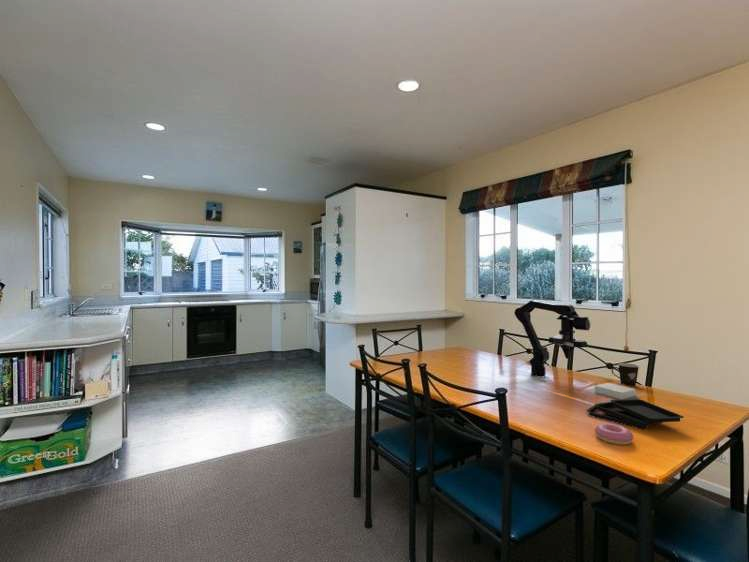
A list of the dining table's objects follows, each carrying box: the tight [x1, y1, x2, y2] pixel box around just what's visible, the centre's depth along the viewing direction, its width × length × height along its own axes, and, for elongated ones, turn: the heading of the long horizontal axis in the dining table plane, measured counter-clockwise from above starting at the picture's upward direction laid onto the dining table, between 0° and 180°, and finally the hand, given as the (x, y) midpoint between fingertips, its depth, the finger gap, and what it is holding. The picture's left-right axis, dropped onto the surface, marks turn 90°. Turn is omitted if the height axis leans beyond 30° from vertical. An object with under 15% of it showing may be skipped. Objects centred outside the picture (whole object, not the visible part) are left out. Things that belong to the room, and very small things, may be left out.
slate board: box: [582, 387, 643, 400], centre depth 173 cm, size 18×16×1 cm
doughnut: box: [594, 422, 634, 446], centre depth 126 cm, size 11×11×4 cm
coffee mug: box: [611, 362, 640, 387], centre depth 192 cm, size 12×9×10 cm
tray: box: [586, 398, 685, 430], centre depth 144 cm, size 30×23×5 cm
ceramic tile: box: [594, 382, 637, 399], centre depth 172 cm, size 3×11×12 cm
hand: (567, 358), depth 196 cm, fingers closed
